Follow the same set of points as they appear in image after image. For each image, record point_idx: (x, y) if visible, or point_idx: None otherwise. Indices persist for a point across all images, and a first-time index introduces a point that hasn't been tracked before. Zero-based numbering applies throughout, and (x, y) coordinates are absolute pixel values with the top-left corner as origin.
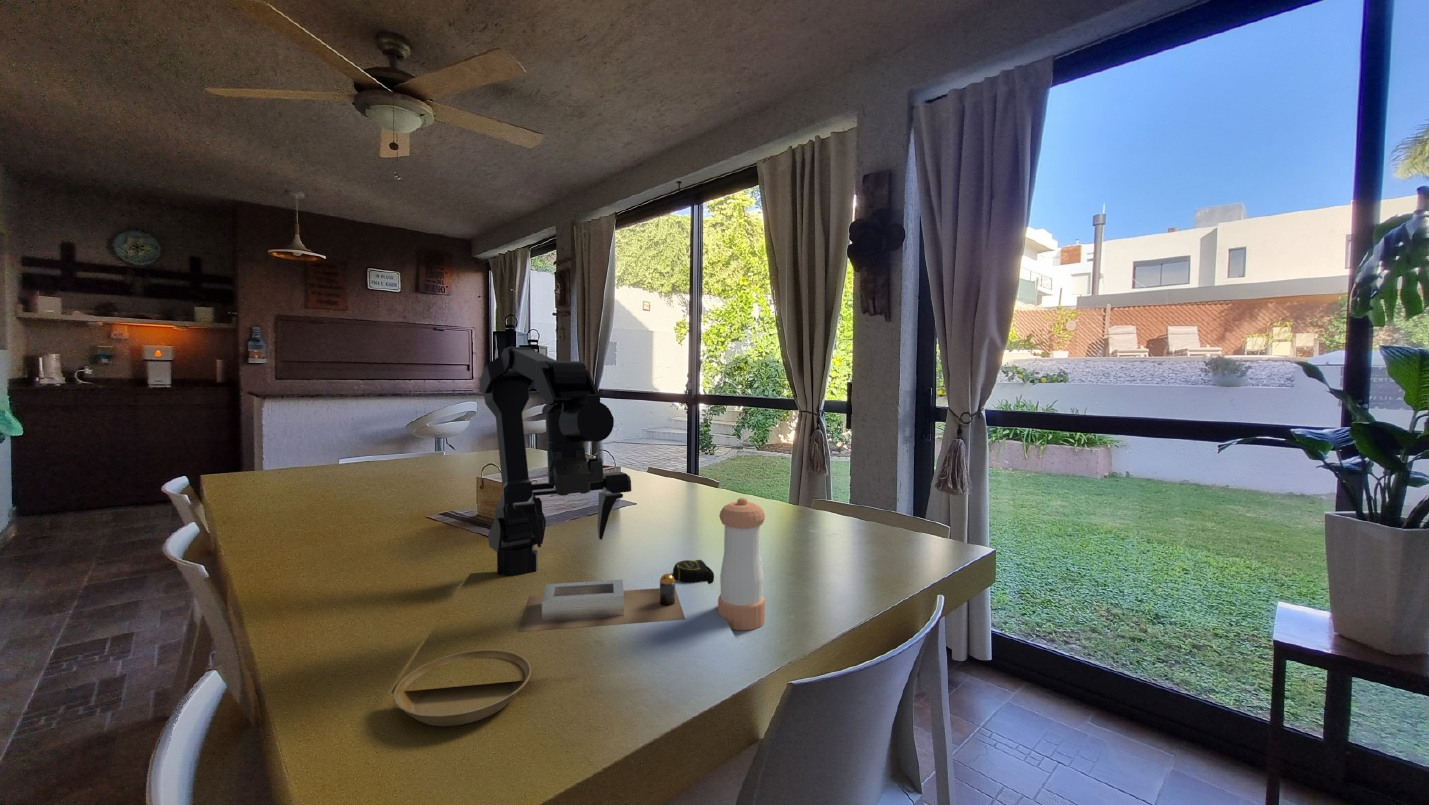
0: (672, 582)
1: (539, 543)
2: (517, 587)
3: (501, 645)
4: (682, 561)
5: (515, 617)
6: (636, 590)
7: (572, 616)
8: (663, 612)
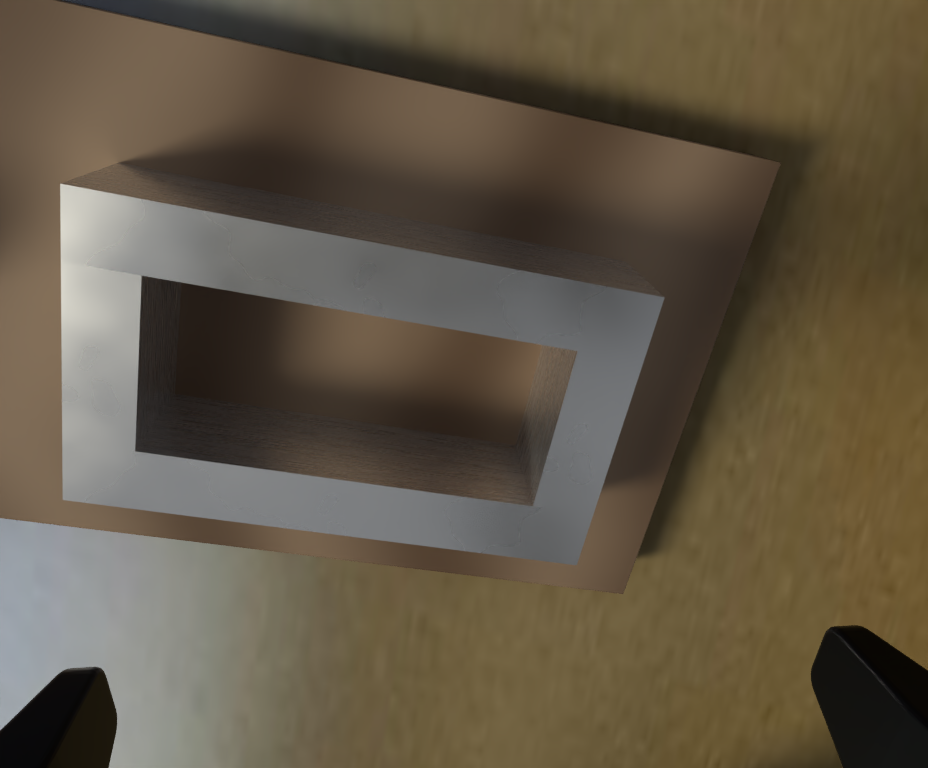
0: None
1: (877, 652)
2: (623, 760)
3: (835, 150)
4: None
5: (698, 457)
6: (15, 509)
7: (453, 230)
8: None
